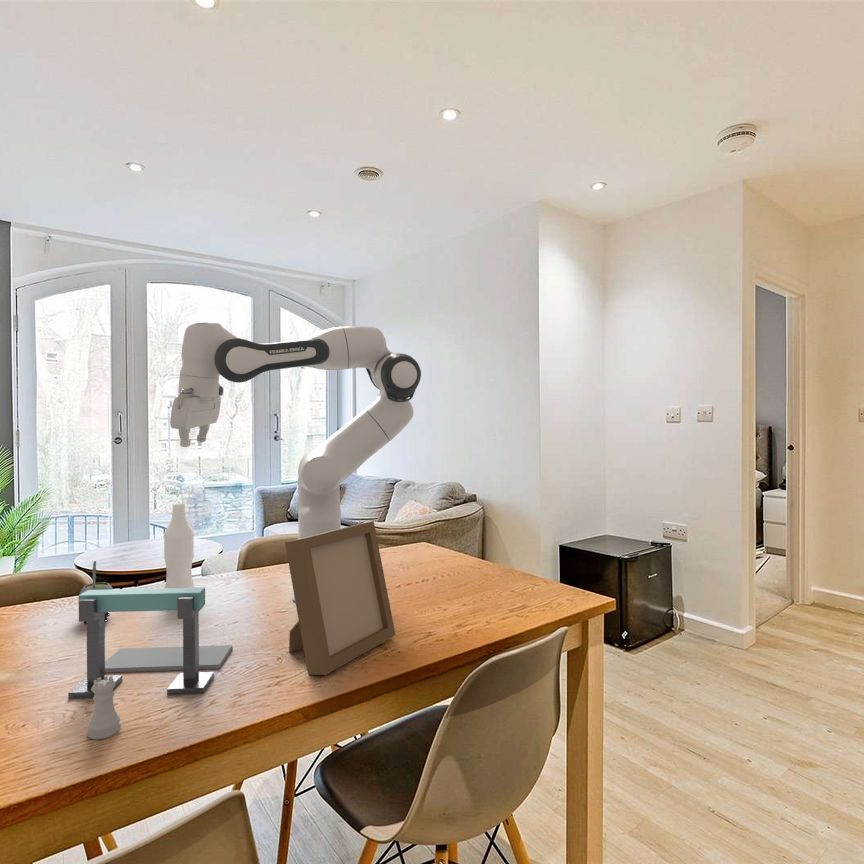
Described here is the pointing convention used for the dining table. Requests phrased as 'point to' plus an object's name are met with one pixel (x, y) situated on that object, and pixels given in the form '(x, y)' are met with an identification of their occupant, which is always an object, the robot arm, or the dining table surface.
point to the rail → (143, 599)
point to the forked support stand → (183, 683)
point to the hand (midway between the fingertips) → (193, 444)
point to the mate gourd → (96, 585)
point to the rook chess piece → (103, 710)
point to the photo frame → (338, 596)
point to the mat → (164, 658)
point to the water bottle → (179, 550)
